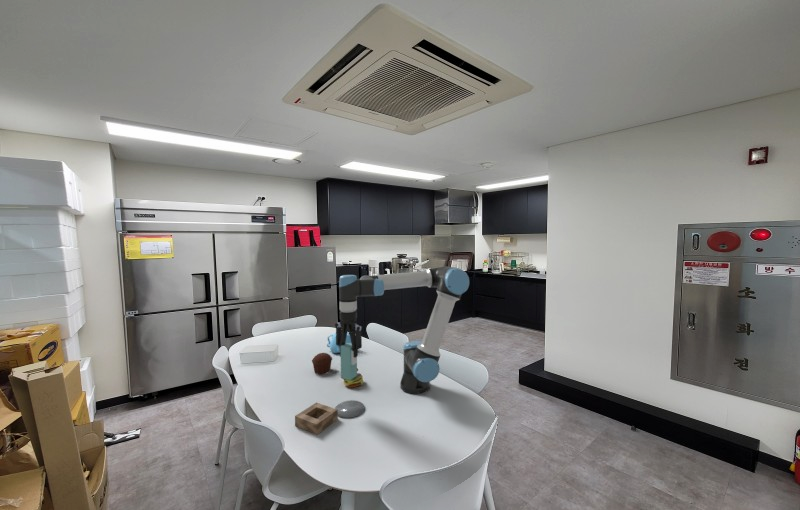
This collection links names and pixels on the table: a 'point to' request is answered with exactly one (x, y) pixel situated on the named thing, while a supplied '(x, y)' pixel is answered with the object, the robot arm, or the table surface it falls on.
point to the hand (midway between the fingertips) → (348, 362)
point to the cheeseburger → (354, 381)
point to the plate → (350, 409)
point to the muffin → (322, 363)
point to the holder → (309, 421)
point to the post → (347, 362)
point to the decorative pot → (333, 345)
